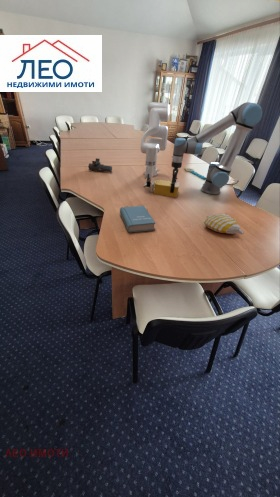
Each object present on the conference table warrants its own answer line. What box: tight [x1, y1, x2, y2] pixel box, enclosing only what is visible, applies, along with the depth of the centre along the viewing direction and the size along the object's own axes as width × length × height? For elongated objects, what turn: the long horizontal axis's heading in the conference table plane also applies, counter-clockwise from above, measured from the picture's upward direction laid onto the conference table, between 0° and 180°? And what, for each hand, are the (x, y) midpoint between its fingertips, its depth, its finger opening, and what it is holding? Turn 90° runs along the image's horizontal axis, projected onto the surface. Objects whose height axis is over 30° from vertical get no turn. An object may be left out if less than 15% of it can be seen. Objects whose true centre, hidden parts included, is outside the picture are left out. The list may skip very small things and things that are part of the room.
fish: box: [203, 213, 245, 235], centre depth 133 cm, size 25×8×20 cm
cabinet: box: [153, 179, 180, 198], centre depth 176 cm, size 18×11×8 cm, turn 77°
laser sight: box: [88, 158, 113, 173], centre depth 208 cm, size 10×22×10 cm, turn 78°
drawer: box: [143, 180, 156, 193], centre depth 177 cm, size 23×10×6 cm, turn 77°
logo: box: [183, 167, 206, 180], centre depth 223 cm, size 34×10×1 cm, turn 16°
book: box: [119, 205, 156, 233], centre depth 136 cm, size 23×16×5 cm
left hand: (148, 186), depth 178 cm, fingers closed
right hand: (172, 190), depth 175 cm, fingers closed on cabinet, 11 cm apart
